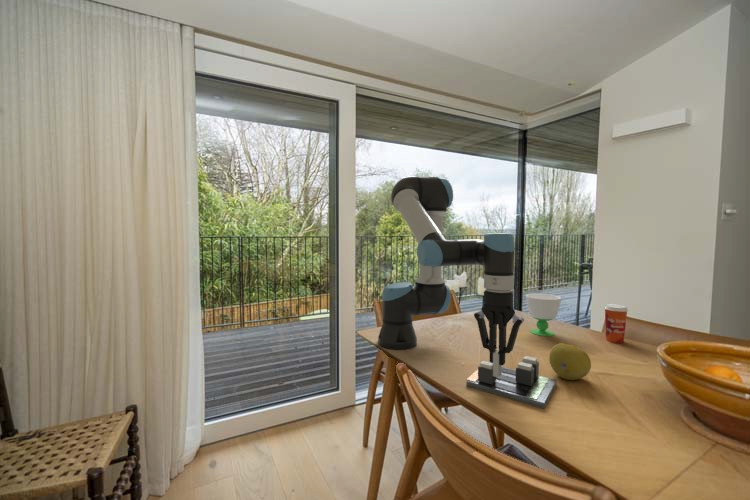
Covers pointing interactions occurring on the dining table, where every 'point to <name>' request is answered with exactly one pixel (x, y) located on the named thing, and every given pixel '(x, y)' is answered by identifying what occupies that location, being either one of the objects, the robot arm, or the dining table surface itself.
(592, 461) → the dining table surface
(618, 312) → the paper cup
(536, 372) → the breaker far row
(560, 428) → the dining table surface
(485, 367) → the block
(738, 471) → the dining table surface
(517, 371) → the breaker mid row
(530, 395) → the panel
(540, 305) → the cup
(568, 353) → the fruit
